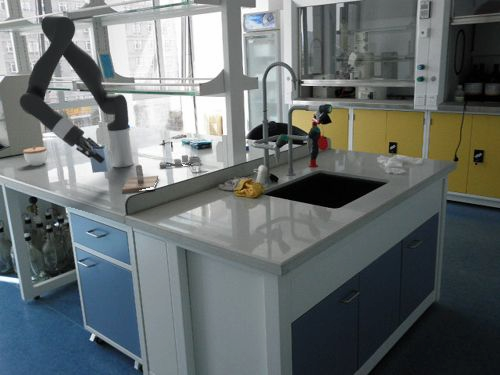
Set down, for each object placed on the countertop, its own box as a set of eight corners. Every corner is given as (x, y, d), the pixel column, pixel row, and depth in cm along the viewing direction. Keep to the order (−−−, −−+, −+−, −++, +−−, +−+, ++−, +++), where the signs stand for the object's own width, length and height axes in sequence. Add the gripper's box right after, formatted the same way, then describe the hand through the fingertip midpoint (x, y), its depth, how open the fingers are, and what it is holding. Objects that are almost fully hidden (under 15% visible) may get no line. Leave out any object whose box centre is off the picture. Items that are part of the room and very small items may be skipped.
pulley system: (177, 162, 222) (154, 168, 210) (177, 152, 221) (153, 157, 209) (222, 169, 207) (200, 176, 195) (221, 159, 206) (199, 165, 194)
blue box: (96, 168, 185) (92, 147, 182) (110, 167, 185) (106, 145, 182) (92, 172, 179) (88, 150, 177) (107, 171, 180) (103, 149, 177)
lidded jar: (52, 161, 237) (49, 143, 234) (43, 166, 227) (39, 147, 224) (32, 162, 238) (28, 144, 235) (21, 167, 227) (17, 148, 225)
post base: (129, 181, 190) (126, 160, 188) (158, 179, 191) (156, 158, 188) (122, 193, 175) (119, 170, 173) (154, 190, 176) (151, 168, 173)
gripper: (68, 127, 169) (106, 156, 174) (79, 121, 183) (114, 148, 187) (56, 143, 171) (94, 171, 175) (68, 135, 184) (103, 162, 189)
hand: (104, 159), depth 181 cm, fingers closed on blue box, 5 cm apart
